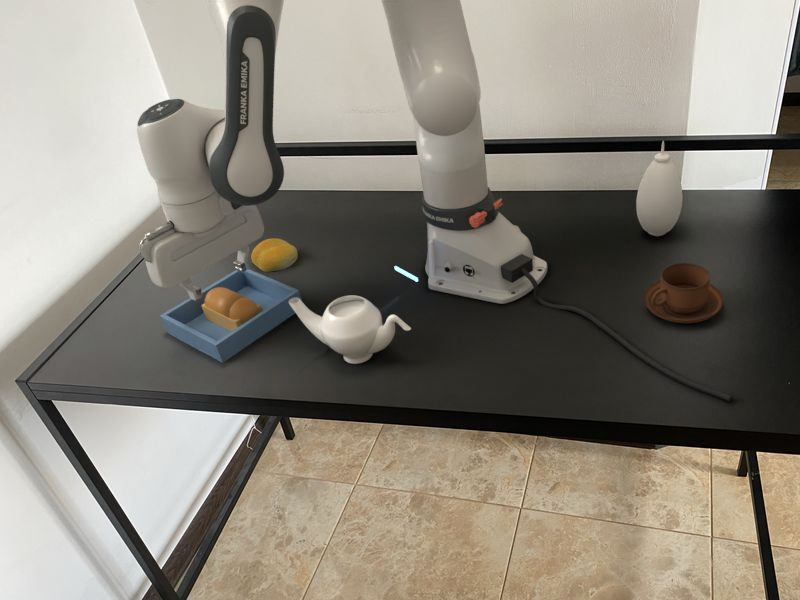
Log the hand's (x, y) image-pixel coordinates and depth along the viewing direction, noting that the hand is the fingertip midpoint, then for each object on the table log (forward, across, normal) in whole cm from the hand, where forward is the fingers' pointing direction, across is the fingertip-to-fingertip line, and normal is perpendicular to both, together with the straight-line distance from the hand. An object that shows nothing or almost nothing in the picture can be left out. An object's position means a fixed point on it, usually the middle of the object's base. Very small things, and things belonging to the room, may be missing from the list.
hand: (220, 283), depth 124 cm
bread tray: (+8, 0, 0) cm, 8 cm away
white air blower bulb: (+7, +60, -49) cm, 78 cm away
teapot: (+8, +5, -25) cm, 27 cm away
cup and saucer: (+7, +42, -63) cm, 76 cm away
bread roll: (+8, +17, +9) cm, 21 cm away
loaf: (+7, 0, 0) cm, 7 cm away
